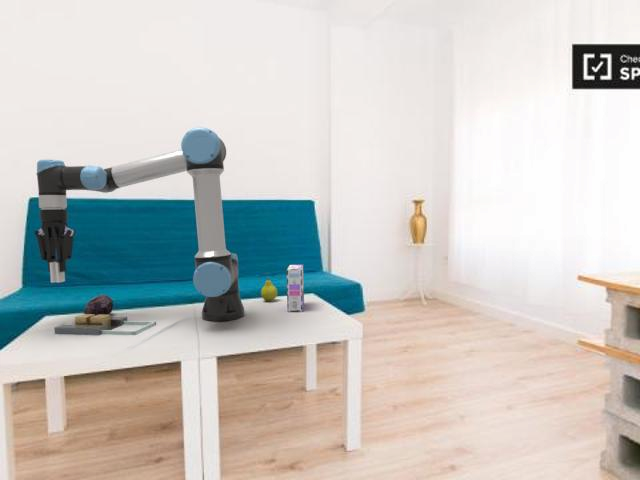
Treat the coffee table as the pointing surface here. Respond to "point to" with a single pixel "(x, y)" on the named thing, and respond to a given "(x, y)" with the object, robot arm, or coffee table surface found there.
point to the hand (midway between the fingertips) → (57, 281)
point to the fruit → (268, 291)
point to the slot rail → (89, 327)
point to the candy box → (295, 288)
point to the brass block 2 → (101, 320)
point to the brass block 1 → (83, 319)
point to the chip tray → (116, 332)
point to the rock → (99, 305)
